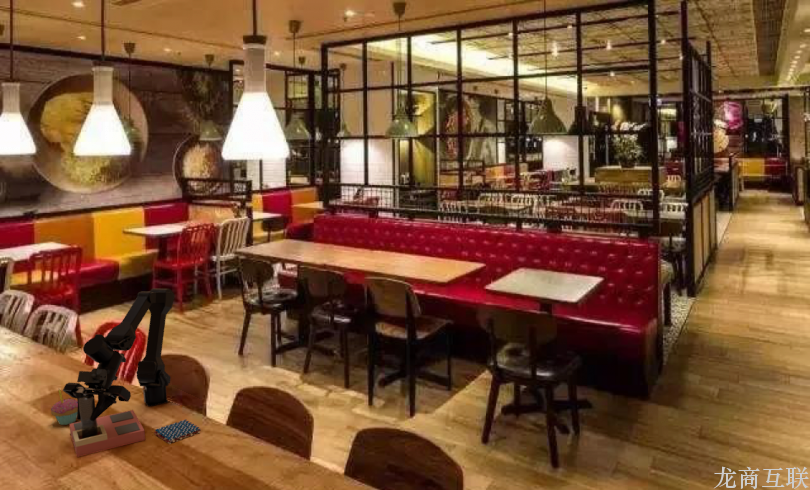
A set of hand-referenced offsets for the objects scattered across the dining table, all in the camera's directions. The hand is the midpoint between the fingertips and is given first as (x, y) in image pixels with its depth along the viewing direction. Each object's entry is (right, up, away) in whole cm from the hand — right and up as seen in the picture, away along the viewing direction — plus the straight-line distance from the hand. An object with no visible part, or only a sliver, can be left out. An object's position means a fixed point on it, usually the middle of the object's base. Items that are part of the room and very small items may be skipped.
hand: (85, 420), depth 174 cm
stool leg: (0, -6, +2) cm, 7 cm away
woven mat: (+22, -8, +11) cm, 26 cm away
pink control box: (+2, -8, +9) cm, 12 cm away
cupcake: (-16, -6, +20) cm, 27 cm away
